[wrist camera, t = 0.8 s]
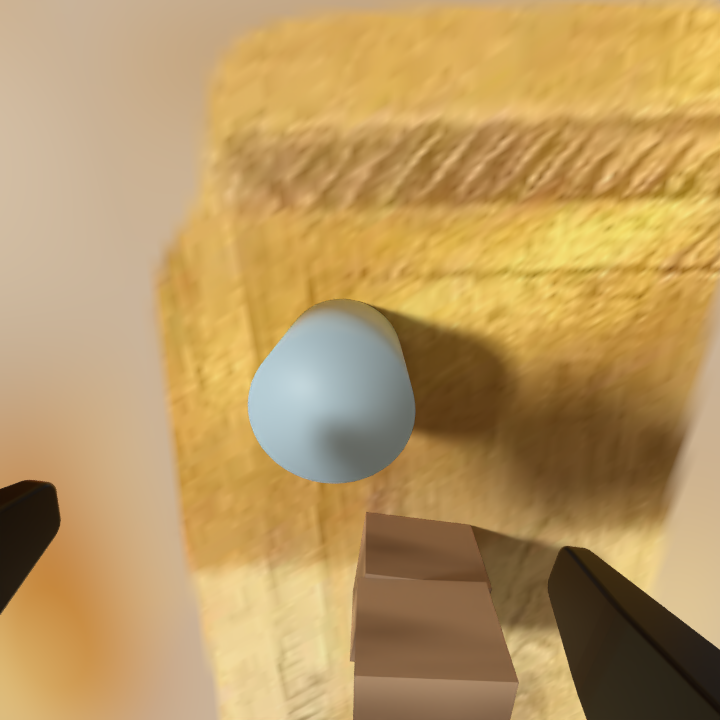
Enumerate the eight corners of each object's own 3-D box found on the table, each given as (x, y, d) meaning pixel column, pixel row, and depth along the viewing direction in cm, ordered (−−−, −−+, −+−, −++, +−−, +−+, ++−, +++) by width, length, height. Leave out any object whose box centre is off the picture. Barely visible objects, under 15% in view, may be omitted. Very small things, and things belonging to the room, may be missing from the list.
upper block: (471, 670, 17) (496, 779, 13) (355, 665, 17) (351, 773, 13) (485, 582, 15) (518, 682, 12) (357, 577, 15) (354, 676, 12)
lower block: (448, 600, 20) (464, 674, 17) (353, 589, 20) (350, 660, 17) (470, 523, 18) (491, 588, 15) (366, 510, 18) (365, 573, 15)
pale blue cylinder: (392, 416, 17) (400, 492, 12) (281, 402, 17) (245, 473, 12) (411, 307, 15) (429, 344, 10) (288, 291, 15) (251, 320, 10)
